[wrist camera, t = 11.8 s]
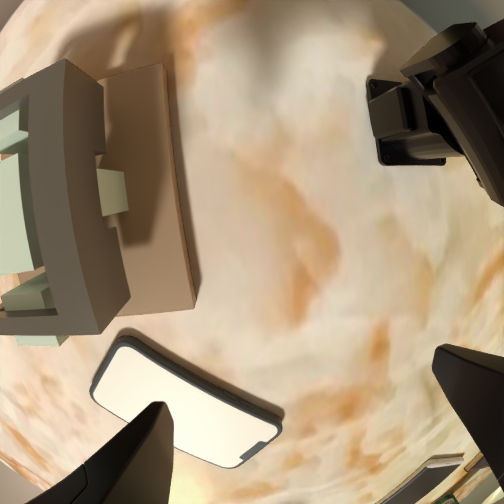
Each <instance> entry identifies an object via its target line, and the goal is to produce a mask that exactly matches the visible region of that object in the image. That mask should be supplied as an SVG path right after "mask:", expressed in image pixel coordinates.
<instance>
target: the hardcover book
mask: <svg viewBox="0 0 504 504" xmlns="http://www.w3.org/2000/svg"><path fill="white" fill-rule="evenodd" d="M486 467H490V466H489V465H488V463H487V461H486V459H485V458H484V456H483V454H482V453H481V451H480V453H479V454H478V455H477V456H476V457H475V458H474V459H473V460H472V461H471V462H470V463H469V464H468V465H467V466H466V467H465V468H464V470H465V471H466V472H470V471H474V470H478V469H482V468H486Z"/></svg>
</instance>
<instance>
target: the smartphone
mask: <svg viewBox="0 0 504 504" xmlns="http://www.w3.org/2000/svg"><path fill="white" fill-rule="evenodd" d="M463 461H464V459H463V457H462V456H460V457H451V458H440V459H429V460H428V461H426V462H425V463H424V464H423V465H422V466H420V467H419V468H418V469H417V470H416V471H415V472H414V473H413V474H412V475H410V476H409V477H408V478H407V479H406V480H405V481H403V482H402V483H401V484H400V485H399V486H397V487H396V488H395V489H394V490H392V491H391V492H390V493H389V494H387V495H386V496H385V497H383V498H382V499H381V500H379V501H378V502H377V503H375V504H415V503H416V502H418V501H419V500H420V499H421V498H423V497H424V496H425V495H427V494H428V493H429V492H430V491H431V490H433V489H434V488H435V487H436V486H437V485H439V484H440V483H441V482H442V481H443V480H444V479H445V478H447V477H448V476H449V475H450V474H451V473H452V472H453V471H454V470H455V469H456V468H457V467H458V466H459V465H460V464H461V463H462V462H463Z"/></svg>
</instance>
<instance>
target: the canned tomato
mask: <svg viewBox="0 0 504 504" xmlns="http://www.w3.org/2000/svg"><path fill="white" fill-rule="evenodd" d="M431 504H459V503H458V501H457V500H456V498H455V496H454V495H453V493H452V492H449V493H447V494H445V495H443V496H442V497H440V498H438V499H437V500H436V501H434V502H433V503H431Z"/></svg>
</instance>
